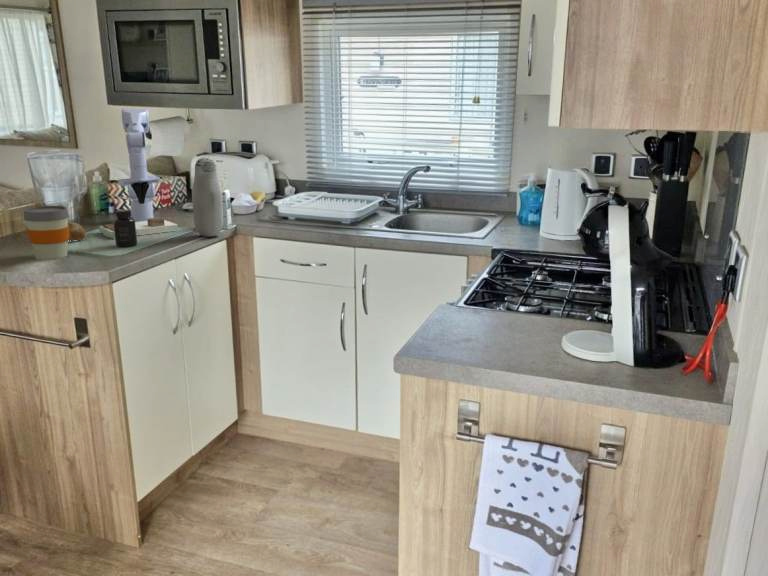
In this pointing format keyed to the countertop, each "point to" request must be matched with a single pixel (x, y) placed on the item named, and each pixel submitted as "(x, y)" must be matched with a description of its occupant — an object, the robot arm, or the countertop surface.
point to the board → (146, 229)
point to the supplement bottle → (125, 229)
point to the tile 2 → (155, 222)
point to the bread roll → (76, 232)
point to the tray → (110, 232)
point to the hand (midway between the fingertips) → (141, 203)
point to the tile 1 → (109, 226)
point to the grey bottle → (207, 198)
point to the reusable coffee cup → (48, 231)
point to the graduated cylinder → (226, 209)
